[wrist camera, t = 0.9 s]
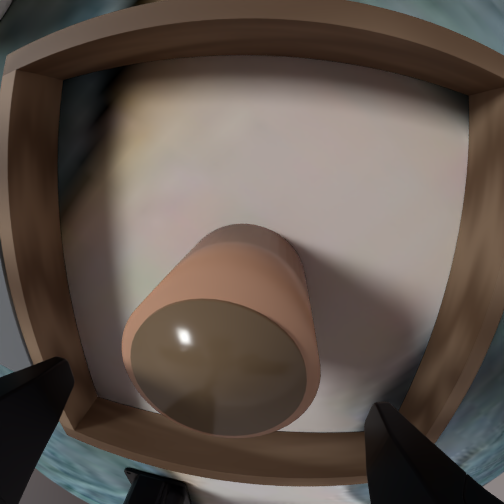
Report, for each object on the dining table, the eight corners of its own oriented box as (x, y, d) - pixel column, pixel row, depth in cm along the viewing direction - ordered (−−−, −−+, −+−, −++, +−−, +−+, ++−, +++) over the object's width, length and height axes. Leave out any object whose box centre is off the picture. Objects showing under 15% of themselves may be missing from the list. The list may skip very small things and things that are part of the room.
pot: (297, 339, 15) (302, 448, 9) (187, 328, 16) (136, 424, 9) (311, 229, 14) (340, 297, 7) (184, 219, 14) (104, 274, 7)
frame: (397, 437, 17) (408, 476, 14) (89, 402, 19) (67, 434, 16) (483, 82, 10) (528, 70, 6) (52, 66, 12) (6, 55, 8)
